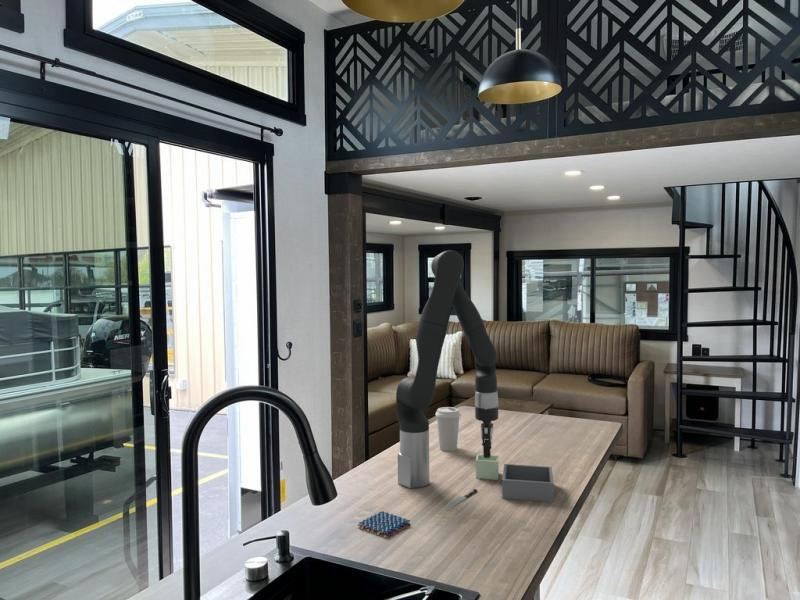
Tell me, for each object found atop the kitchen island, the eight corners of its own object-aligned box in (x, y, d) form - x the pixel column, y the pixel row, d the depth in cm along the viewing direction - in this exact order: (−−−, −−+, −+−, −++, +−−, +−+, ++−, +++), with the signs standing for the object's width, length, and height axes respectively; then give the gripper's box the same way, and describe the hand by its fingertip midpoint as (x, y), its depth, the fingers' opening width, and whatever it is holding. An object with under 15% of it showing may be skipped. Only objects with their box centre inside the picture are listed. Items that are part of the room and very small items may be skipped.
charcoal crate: (553, 502, 167) (553, 483, 167) (502, 498, 170) (502, 479, 170) (551, 484, 181) (551, 466, 181) (504, 480, 185) (504, 463, 184)
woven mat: (381, 516, 160) (381, 509, 160) (412, 526, 153) (412, 519, 153) (355, 529, 152) (355, 522, 152) (386, 541, 145) (386, 533, 145)
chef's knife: (435, 512, 163) (444, 514, 161) (435, 508, 163) (444, 509, 161) (469, 490, 178) (478, 492, 176) (469, 486, 178) (477, 488, 176)
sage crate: (497, 479, 186) (497, 461, 186) (475, 478, 187) (475, 460, 187) (498, 473, 192) (498, 455, 191) (477, 472, 193) (477, 454, 193)
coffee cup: (462, 452, 214) (461, 412, 213) (436, 452, 214) (435, 412, 213) (459, 444, 223) (459, 406, 223) (435, 445, 224) (434, 406, 223)
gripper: (476, 399, 197) (477, 446, 198) (473, 409, 183) (474, 460, 184) (498, 399, 195) (499, 446, 196) (497, 410, 181) (498, 461, 182)
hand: (487, 453), depth 190 cm, fingers open, 8 cm apart
